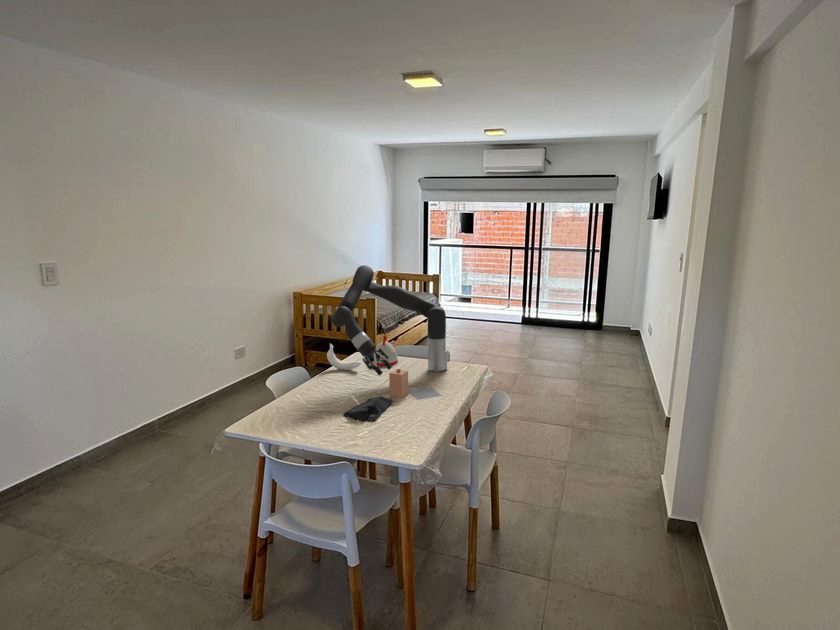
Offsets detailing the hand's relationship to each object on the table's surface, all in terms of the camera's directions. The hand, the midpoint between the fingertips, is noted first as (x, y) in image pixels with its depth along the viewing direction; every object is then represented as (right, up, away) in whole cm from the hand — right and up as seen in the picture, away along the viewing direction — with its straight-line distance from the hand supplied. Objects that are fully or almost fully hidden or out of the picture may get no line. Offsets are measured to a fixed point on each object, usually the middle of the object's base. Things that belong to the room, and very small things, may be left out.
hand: (385, 371), depth 224 cm
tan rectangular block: (+6, -11, -1) cm, 12 cm away
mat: (+17, -10, 0) cm, 20 cm away
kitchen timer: (-4, -1, +49) cm, 50 cm away
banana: (-24, -4, +36) cm, 44 cm away
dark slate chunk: (-5, -15, -18) cm, 24 cm away
